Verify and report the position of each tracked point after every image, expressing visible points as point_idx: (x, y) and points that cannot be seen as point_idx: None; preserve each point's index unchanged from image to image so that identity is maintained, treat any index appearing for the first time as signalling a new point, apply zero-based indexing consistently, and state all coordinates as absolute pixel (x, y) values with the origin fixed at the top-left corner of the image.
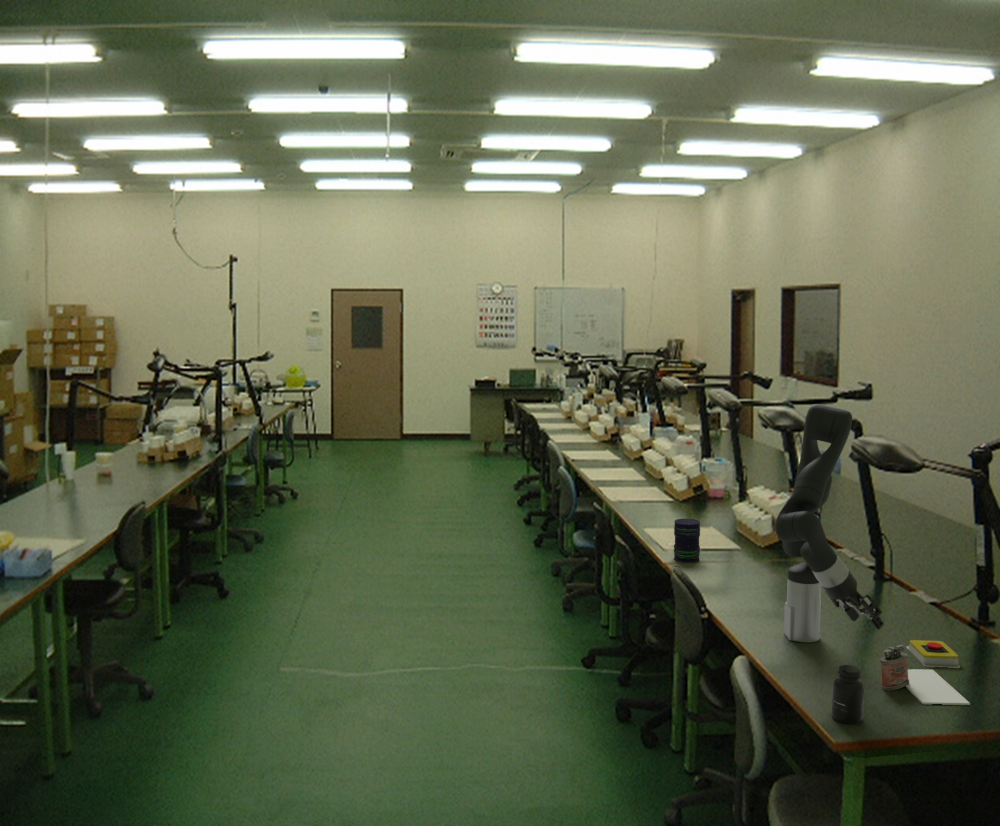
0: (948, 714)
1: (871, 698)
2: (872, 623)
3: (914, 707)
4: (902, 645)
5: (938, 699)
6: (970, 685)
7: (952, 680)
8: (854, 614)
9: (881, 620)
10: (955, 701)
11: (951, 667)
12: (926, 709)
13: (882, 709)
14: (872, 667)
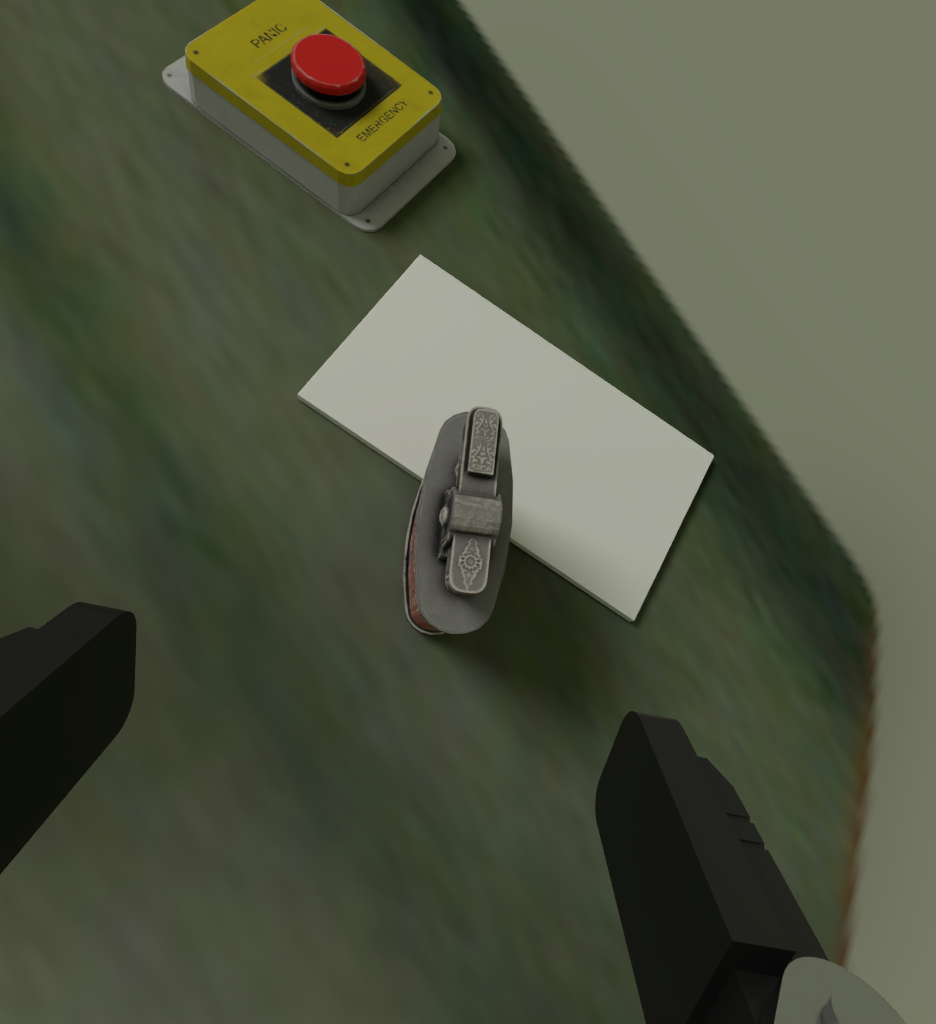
0: (737, 616)
1: (468, 795)
2: (631, 933)
3: (634, 685)
4: (492, 419)
5: (641, 529)
6: (586, 283)
7: (521, 287)
8: (73, 716)
9: (757, 833)
10: (682, 488)
11: (437, 172)
12: (670, 655)
13: (585, 862)
14: (210, 425)
